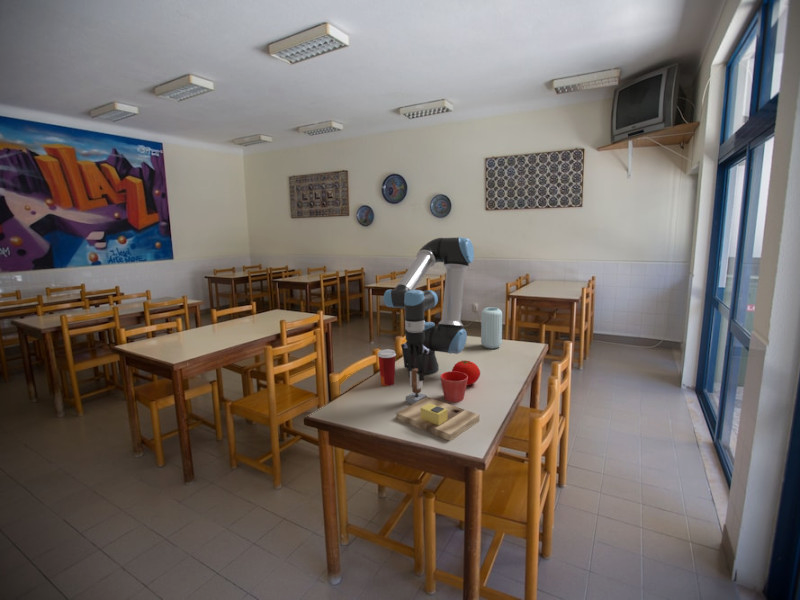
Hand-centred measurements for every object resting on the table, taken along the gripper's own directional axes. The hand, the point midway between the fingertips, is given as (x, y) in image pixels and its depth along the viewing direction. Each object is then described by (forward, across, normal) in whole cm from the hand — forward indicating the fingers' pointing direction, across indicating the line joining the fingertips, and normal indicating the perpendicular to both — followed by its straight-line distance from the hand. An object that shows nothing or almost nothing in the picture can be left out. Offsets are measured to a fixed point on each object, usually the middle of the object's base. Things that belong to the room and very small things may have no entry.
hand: (416, 386), depth 162 cm
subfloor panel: (+6, +16, -7) cm, 19 cm away
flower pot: (+7, +10, +12) cm, 17 cm away
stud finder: (+4, +18, -11) cm, 21 cm away
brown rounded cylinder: (+4, 0, 0) cm, 4 cm away
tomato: (+7, +5, +28) cm, 29 cm away
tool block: (+6, 0, 0) cm, 6 cm away
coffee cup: (+7, -22, +6) cm, 24 cm away
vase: (+8, -14, +83) cm, 84 cm away
